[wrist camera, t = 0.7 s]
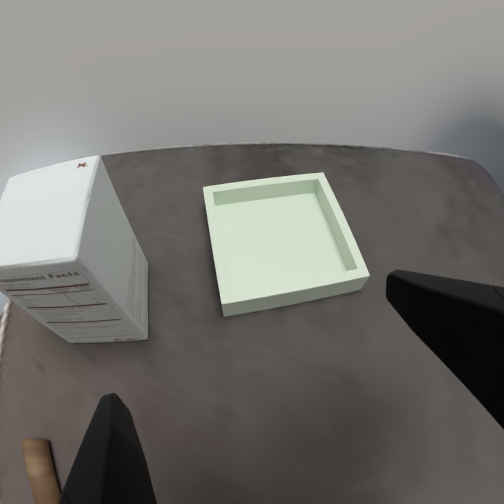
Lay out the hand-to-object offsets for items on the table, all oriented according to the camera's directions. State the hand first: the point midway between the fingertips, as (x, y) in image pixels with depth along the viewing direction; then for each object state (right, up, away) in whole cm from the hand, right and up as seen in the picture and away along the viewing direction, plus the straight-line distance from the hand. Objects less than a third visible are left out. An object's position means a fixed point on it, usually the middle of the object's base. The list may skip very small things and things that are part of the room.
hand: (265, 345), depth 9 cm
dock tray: (+2, +3, +19) cm, 20 cm away
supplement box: (-12, -2, +16) cm, 21 cm away
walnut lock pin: (-16, -15, +7) cm, 24 cm away
